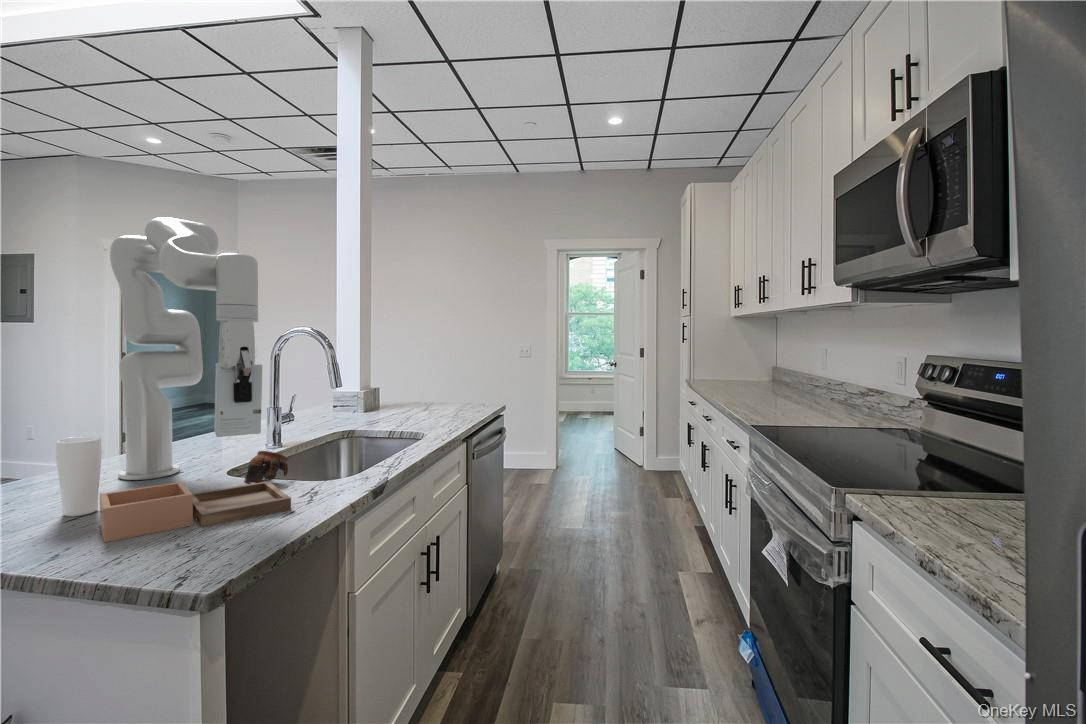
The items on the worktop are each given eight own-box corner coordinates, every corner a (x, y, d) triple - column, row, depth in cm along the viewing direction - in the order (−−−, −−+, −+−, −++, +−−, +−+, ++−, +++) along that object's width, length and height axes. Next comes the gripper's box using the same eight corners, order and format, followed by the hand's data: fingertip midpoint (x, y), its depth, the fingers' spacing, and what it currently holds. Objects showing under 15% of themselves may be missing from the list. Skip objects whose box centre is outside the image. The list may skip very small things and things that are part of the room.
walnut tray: (186, 505, 110) (186, 494, 110) (268, 491, 121) (268, 481, 121) (201, 527, 98) (201, 514, 98) (291, 509, 109) (291, 498, 109)
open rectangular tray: (100, 524, 98) (99, 493, 98) (182, 510, 107) (182, 481, 107) (104, 542, 90) (103, 508, 90) (192, 525, 99) (192, 494, 99)
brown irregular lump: (235, 482, 130) (248, 450, 133) (272, 492, 135) (284, 461, 139) (253, 479, 122) (267, 445, 126) (291, 490, 128) (303, 458, 131)
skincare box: (216, 437, 104) (215, 363, 103) (214, 432, 108) (213, 362, 108) (263, 433, 108) (262, 363, 108) (259, 429, 113) (258, 361, 113)
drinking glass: (75, 520, 100) (74, 443, 99) (48, 517, 102) (46, 441, 101) (111, 509, 107) (109, 437, 106) (85, 506, 108) (83, 435, 107)
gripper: (207, 314, 111) (208, 397, 112) (226, 312, 98) (228, 406, 99) (246, 315, 116) (247, 395, 117) (269, 314, 104) (270, 403, 104)
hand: (238, 399), depth 108 cm, fingers closed on skincare box, 6 cm apart
